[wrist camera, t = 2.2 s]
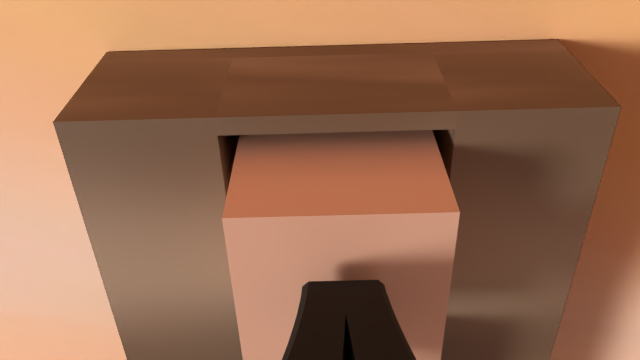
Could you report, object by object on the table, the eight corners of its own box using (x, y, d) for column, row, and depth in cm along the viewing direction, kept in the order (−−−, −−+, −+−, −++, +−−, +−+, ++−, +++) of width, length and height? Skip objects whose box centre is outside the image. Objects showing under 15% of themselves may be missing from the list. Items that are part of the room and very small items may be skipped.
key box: (480, 415, 23) (506, 511, 20) (194, 422, 23) (176, 518, 20) (558, 39, 14) (621, 106, 11) (106, 51, 15) (53, 121, 12)
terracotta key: (417, 263, 15) (439, 368, 12) (257, 267, 15) (244, 373, 12) (429, 121, 13) (460, 212, 10) (241, 126, 13) (221, 218, 10)
